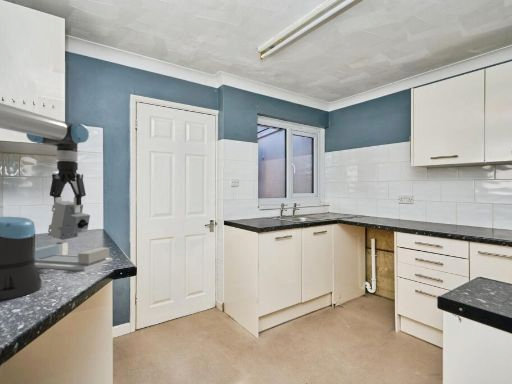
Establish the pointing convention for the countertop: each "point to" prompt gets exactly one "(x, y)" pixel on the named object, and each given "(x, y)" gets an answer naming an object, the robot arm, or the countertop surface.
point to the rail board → (70, 258)
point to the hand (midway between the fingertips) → (67, 212)
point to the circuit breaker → (67, 221)
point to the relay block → (62, 247)
